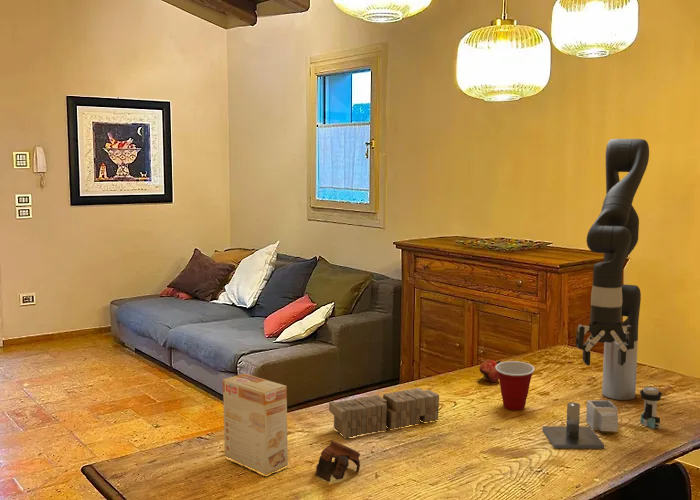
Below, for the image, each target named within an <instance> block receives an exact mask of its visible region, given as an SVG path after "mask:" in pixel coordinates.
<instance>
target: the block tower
mask: <svg viewBox="0 0 700 500" xmlns="http://www.w3.org/2000/svg"><path fill="white" fill-rule="evenodd" d="M328 404H329V405H328V411H329V412H330V413H331V414H332V415H333V416H334V417H333V429H334V428H335V429H336V430H337V431H338V432H339V433H341V434H342V435H343V436H344V437H345V438H349V437H353V436H357V435H361V434H366V433H372V432H378V431H385V430H386V431H387V429H388V428H390V429H394V428H399V427H405V426H409V425H415V424H419V425H420V423H421V422H420V420H421V421H423V422H430V421H435V420H438V421H439V411H440V408H439V406H440V394H438V393H436V392H434V391H433V390H430V389H423V388H421V387H417V388H416V387H415V388H412V389H410V388H409V389H405V390H398V391H395V392H393V391H392V392H387V393H383V395H382V397H381V396H380V395H379V394H375V395H369V396H361V397H357V398H354V399H346V400H341V401H338V402H337V401H336V402H335V401H334V400H333V401H329V402H328ZM386 426H387V427H388V428H386ZM405 428H406V427H405ZM344 437H343V438H344ZM345 438H344V439H345Z"/></svg>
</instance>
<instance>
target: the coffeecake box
mask: <svg viewBox="0 0 700 500" xmlns="http://www.w3.org/2000/svg"><path fill="white" fill-rule="evenodd" d="M287 387H288V385H284V384H282V383H278V382H275V381H271V380H268V379H265V378H261V377H257V376H254V375H251V374H248V373H242V374H241V373H240V374H238V375H234V376H230V377H227V378H222V394H223V395H222V397H223V403H222V404H223V429H224V430H223V432H224V433H223V434H224V436H223V437H224V439H223V440H224V457H225V456H226V457H228V458H231V459H233V460H235V461H237V462H239V463H241V464H243V465H246V466H248V467H250V468H252V469H255V470H257V471H259V472H261V473H263V474H265V475H267V474H269V473H272V472H275V471H277V470H279V469H281V468H283V467H285V466H287V465H288V464H289V458H288V457H289V456H288V454H289V453H288V397H287V396H288V395H287V391H288V390H287ZM288 466H289V465H288Z"/></svg>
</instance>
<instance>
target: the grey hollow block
mask: <svg viewBox="0 0 700 500" xmlns="http://www.w3.org/2000/svg"><path fill="white" fill-rule="evenodd" d="M585 423H586V424H587V425H588V427H590V428H591V429H592V430H593V431H601V432H618V431H619V430H618V429H619V415H618V407H617V406H616V405H615V404H614V403H613V402H612V401H611V400H608V399H607V400H606V399H603V400H601V399H600V400H599V399H593V400H591V399H589V400H586V421H585Z"/></svg>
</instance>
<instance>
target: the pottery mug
mask: <svg viewBox="0 0 700 500" xmlns="http://www.w3.org/2000/svg"><path fill="white" fill-rule="evenodd" d="M360 456H361V454H360V452H358V451H357V450H355V449H353V448H350V447H349V446H346V445H344V444H342V443H340V442H337V441H334V440H330V443H329V445H327V446H326V447H325V448H324V449H323V450H322V451H321V453H320V456H319V458H318V464H316V468H315V475H316V476H317V477H318V478H320V480H324V481H326V482H328V481H330V482H331V477H333V478H334V479H335V480H342V479H344V476H345V474H346V470H348V467H349V462H350V461H352V462H353V463H354V465H356V470H355V472H356V473H357V472H358V473H359V472H360V469H361V462H360ZM349 460H350V461H349Z"/></svg>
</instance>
